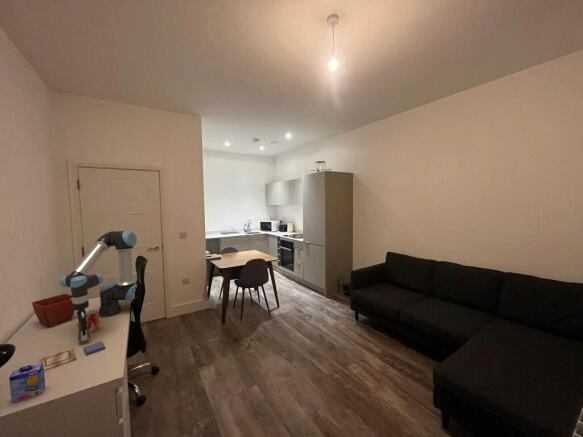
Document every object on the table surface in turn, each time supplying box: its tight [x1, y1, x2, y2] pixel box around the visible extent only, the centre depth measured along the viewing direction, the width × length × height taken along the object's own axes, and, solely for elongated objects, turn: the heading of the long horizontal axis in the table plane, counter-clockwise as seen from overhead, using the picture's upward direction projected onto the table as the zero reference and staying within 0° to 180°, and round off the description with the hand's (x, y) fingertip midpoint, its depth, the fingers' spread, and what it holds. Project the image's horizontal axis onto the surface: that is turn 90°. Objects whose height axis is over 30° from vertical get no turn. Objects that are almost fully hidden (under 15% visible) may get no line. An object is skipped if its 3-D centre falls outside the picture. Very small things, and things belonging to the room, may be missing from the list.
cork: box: [76, 320, 91, 342], centre depth 152 cm, size 6×6×11 cm
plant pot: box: [31, 293, 75, 328], centre depth 178 cm, size 19×19×17 cm
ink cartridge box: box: [8, 363, 46, 404], centre depth 110 cm, size 10×6×14 cm, turn 124°
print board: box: [39, 347, 77, 372], centre depth 135 cm, size 14×14×1 cm
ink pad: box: [82, 340, 106, 357], centre depth 145 cm, size 9×9×2 cm
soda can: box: [86, 309, 101, 334], centre depth 166 cm, size 7×7×13 cm
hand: (83, 337), depth 152 cm, fingers closed on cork, 6 cm apart
